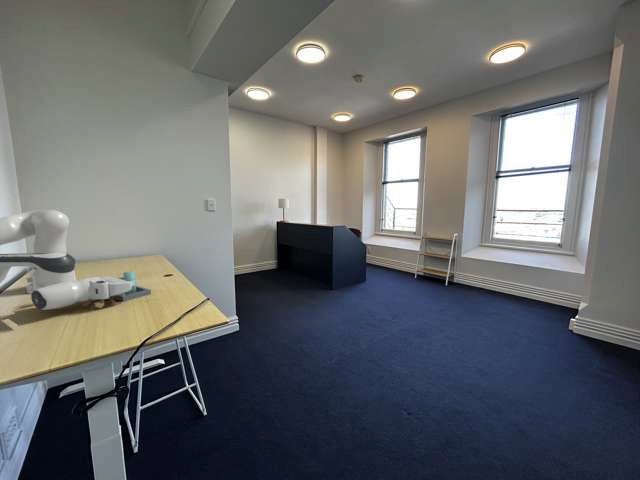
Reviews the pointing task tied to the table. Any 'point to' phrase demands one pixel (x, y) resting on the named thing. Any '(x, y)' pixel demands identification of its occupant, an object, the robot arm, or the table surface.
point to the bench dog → (99, 305)
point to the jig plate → (107, 301)
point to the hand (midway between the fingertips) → (132, 279)
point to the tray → (140, 293)
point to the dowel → (129, 277)
